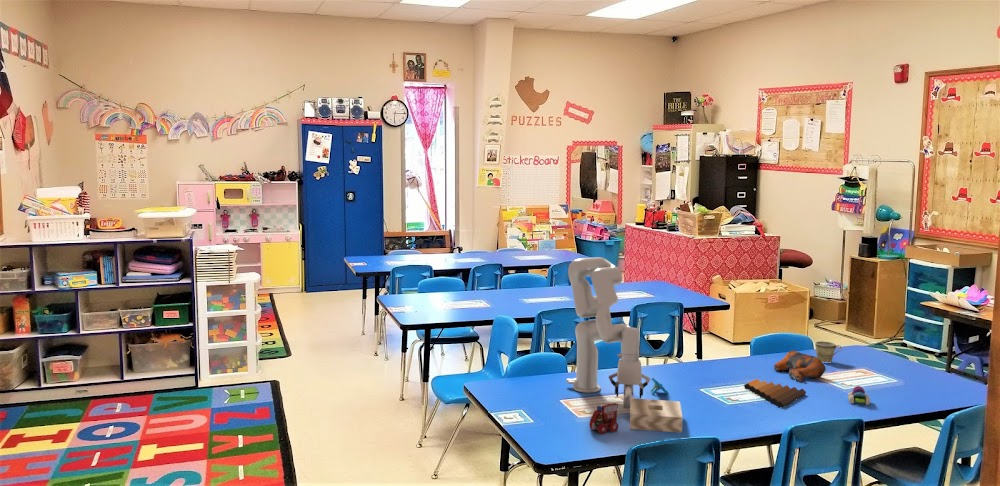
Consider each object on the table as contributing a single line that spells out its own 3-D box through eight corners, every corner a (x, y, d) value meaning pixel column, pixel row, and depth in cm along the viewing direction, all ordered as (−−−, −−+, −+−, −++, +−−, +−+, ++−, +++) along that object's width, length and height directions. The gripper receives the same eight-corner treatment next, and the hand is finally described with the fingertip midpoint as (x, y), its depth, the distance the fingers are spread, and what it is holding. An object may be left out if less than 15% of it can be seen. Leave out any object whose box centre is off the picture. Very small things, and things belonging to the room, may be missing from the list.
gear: (672, 394, 340) (656, 378, 340) (663, 404, 340) (647, 387, 340) (665, 390, 351) (650, 374, 351) (656, 399, 351) (641, 383, 351)
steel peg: (623, 408, 325) (623, 385, 324) (623, 405, 329) (624, 382, 328) (632, 409, 325) (633, 386, 324) (632, 406, 329) (633, 383, 327)
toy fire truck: (584, 430, 299) (585, 404, 298) (611, 425, 305) (612, 399, 304) (595, 436, 293) (595, 409, 292) (621, 431, 299) (622, 405, 298)
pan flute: (783, 409, 329) (805, 396, 347) (783, 401, 329) (806, 389, 347) (728, 396, 346) (753, 384, 364) (729, 389, 345) (753, 377, 364)
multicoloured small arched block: (867, 400, 341) (868, 385, 340) (870, 407, 332) (871, 391, 331) (846, 398, 344) (847, 382, 343) (849, 405, 335) (850, 389, 334)
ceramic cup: (816, 364, 400) (817, 345, 399) (812, 359, 410) (813, 340, 409) (843, 365, 398) (844, 346, 397) (837, 360, 408) (839, 342, 407)
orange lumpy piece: (789, 362, 397) (762, 370, 391) (792, 340, 392) (765, 347, 386) (825, 387, 376) (797, 396, 370) (829, 364, 371) (800, 372, 365)
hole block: (629, 428, 301) (630, 413, 301) (630, 412, 321) (630, 398, 320) (681, 432, 298) (682, 417, 297) (679, 415, 317) (679, 401, 317)
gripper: (608, 358, 322) (607, 397, 324) (650, 360, 319) (649, 400, 321) (609, 353, 330) (608, 392, 331) (650, 355, 327) (649, 395, 328)
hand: (628, 396), depth 326 cm, fingers open, 9 cm apart
